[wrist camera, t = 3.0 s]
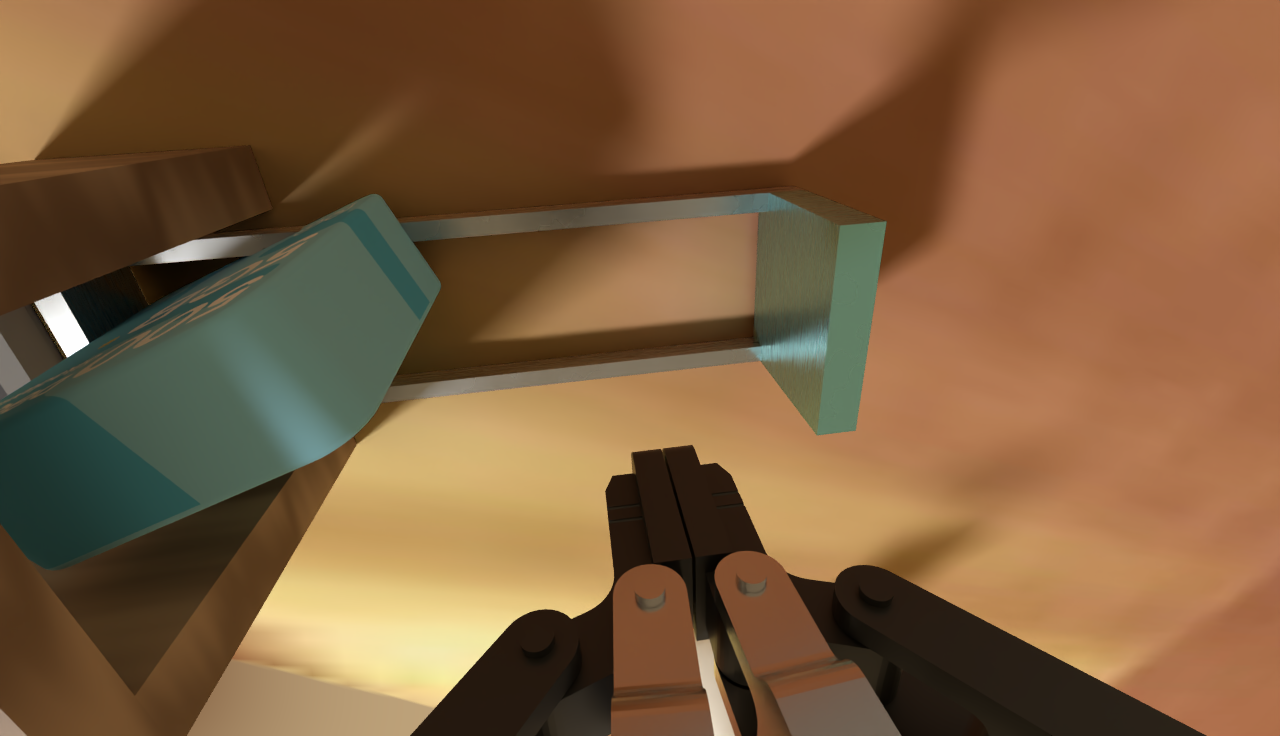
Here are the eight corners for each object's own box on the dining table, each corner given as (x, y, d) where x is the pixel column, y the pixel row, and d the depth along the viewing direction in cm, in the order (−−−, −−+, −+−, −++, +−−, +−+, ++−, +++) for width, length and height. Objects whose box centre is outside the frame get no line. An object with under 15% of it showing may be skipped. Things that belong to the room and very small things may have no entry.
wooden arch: (32, 160, 21) (-1292, 320, 6) (250, 145, 22) (-445, 255, 7) (194, 463, 28) (-242, 902, 13) (356, 444, 28) (127, 837, 13)
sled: (90, 242, 22) (-130, 312, 15) (793, 185, 25) (886, 221, 18) (179, 413, 26) (36, 533, 19) (782, 347, 29) (855, 430, 22)
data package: (388, 183, 23) (235, 308, 12) (450, 276, 25) (364, 444, 15) (157, 299, 24) (-147, 493, 14) (236, 375, 26) (24, 589, 16)
